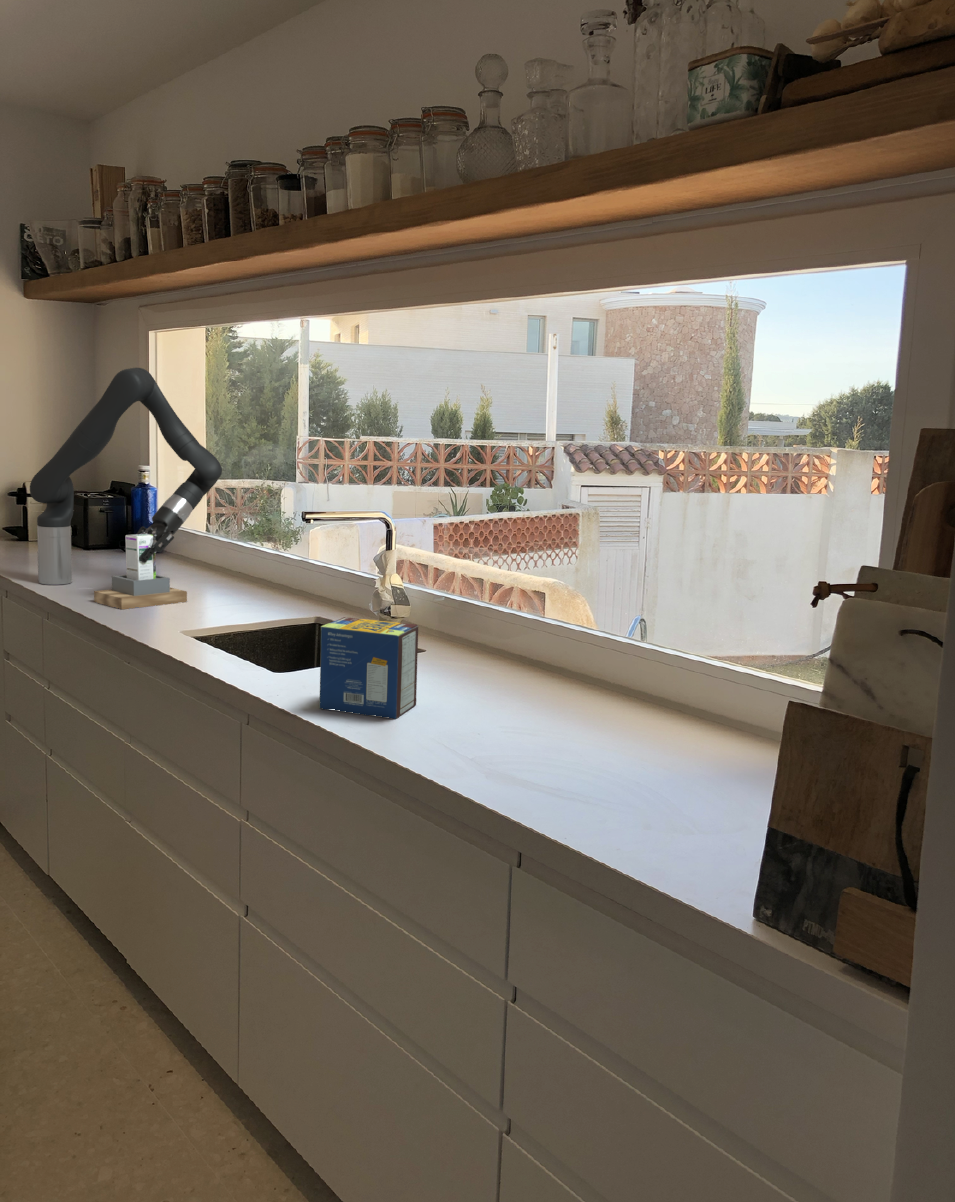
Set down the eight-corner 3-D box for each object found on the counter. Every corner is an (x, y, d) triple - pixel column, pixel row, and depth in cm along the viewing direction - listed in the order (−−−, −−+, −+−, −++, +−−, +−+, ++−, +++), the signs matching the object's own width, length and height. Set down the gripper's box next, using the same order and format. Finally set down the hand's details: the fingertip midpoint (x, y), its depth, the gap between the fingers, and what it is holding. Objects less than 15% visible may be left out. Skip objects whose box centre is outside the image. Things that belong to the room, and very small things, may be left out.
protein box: (341, 695, 192) (343, 616, 190) (417, 705, 188) (420, 624, 185) (317, 709, 182) (319, 625, 180) (396, 720, 178) (399, 634, 175)
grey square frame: (112, 590, 277) (111, 576, 276) (147, 586, 285) (147, 572, 284) (133, 595, 270) (133, 581, 269) (169, 592, 278) (169, 577, 277)
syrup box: (138, 589, 273) (137, 536, 271) (125, 586, 277) (125, 534, 274) (156, 587, 278) (156, 535, 275) (143, 584, 281) (143, 532, 279)
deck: (94, 601, 275) (94, 591, 274) (158, 594, 290) (158, 584, 289) (121, 609, 266) (121, 598, 265) (186, 601, 281) (186, 591, 281)
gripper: (149, 503, 284) (112, 547, 277) (179, 507, 275) (140, 553, 268) (166, 520, 289) (129, 565, 282) (195, 525, 280) (158, 571, 273)
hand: (135, 559), depth 275 cm, fingers closed on syrup box, 6 cm apart
